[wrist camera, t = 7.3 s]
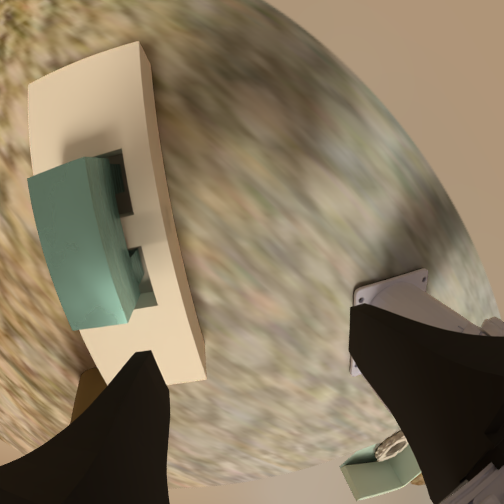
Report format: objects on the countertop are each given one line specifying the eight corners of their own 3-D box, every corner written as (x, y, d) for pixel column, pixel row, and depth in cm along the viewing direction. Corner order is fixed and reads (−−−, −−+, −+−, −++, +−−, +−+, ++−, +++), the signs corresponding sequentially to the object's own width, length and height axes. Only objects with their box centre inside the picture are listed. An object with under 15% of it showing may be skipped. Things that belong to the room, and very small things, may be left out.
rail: (204, 344, 20) (207, 379, 16) (121, 356, 19) (109, 389, 15) (150, 65, 14) (138, 40, 10) (57, 97, 13) (28, 84, 9)
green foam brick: (148, 276, 16) (128, 323, 11) (105, 284, 16) (72, 330, 10) (122, 159, 14) (84, 156, 9) (77, 173, 13) (27, 178, 8)
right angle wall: (429, 416, 33) (452, 443, 26) (384, 460, 35) (401, 488, 28) (390, 417, 29) (416, 453, 22) (339, 466, 32) (356, 501, 25)
